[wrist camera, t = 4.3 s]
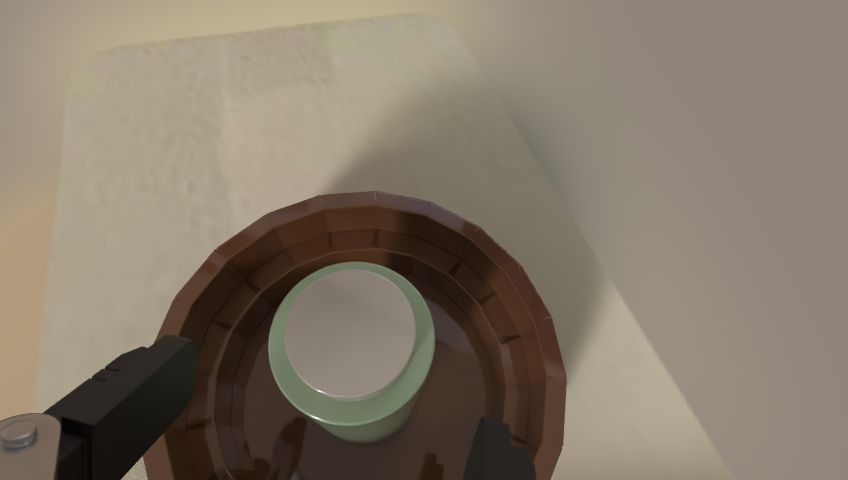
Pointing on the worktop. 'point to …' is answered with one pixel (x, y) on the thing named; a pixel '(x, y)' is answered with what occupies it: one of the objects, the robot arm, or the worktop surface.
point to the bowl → (446, 381)
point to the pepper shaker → (353, 350)
